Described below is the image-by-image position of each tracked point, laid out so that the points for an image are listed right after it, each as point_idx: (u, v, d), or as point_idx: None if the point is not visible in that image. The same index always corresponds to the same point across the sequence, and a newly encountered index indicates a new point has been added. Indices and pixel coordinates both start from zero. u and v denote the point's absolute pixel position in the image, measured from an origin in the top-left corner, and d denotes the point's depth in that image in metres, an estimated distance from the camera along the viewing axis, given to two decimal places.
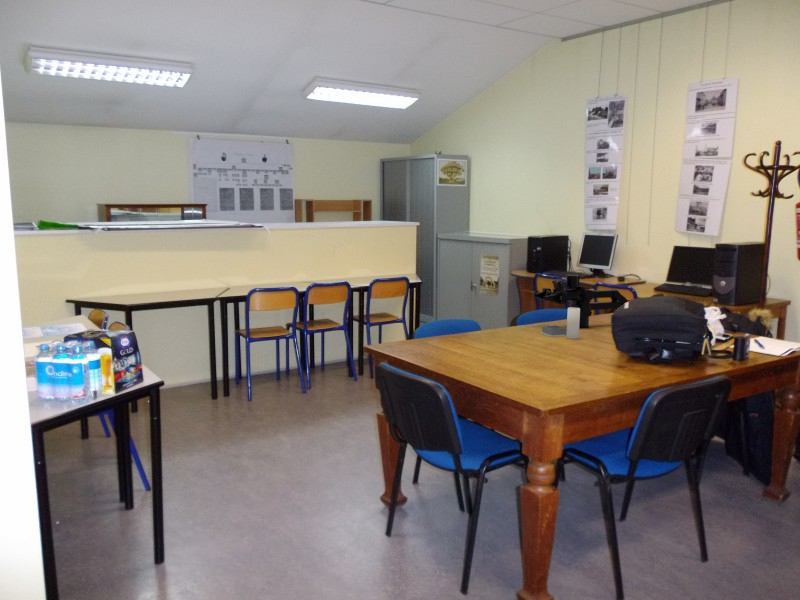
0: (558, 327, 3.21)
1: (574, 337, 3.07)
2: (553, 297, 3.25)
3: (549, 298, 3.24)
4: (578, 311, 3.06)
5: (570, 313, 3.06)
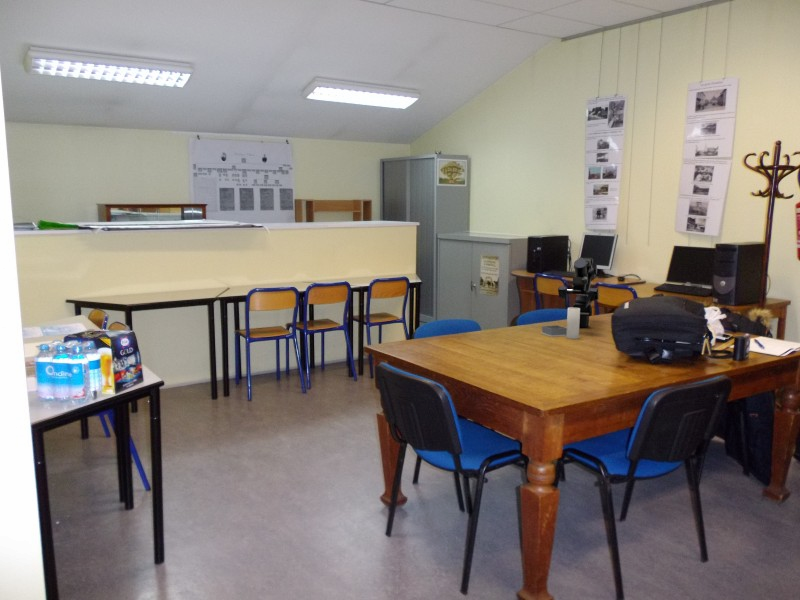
0: (558, 327, 3.21)
1: (574, 337, 3.07)
2: (589, 299, 3.15)
3: (588, 303, 3.15)
4: (578, 311, 3.06)
5: (570, 313, 3.06)
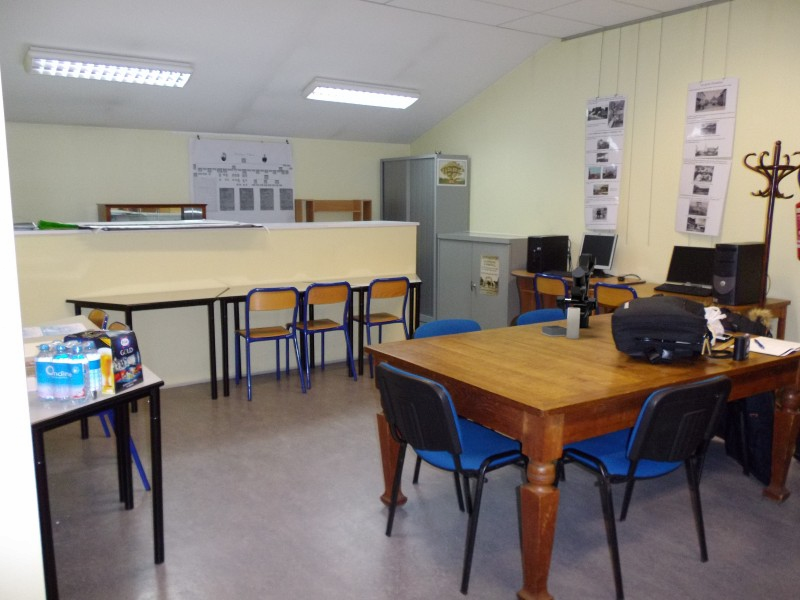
0: (558, 327, 3.21)
1: (574, 337, 3.07)
2: (588, 309, 3.10)
3: (586, 313, 3.10)
4: (578, 311, 3.06)
5: (570, 313, 3.06)
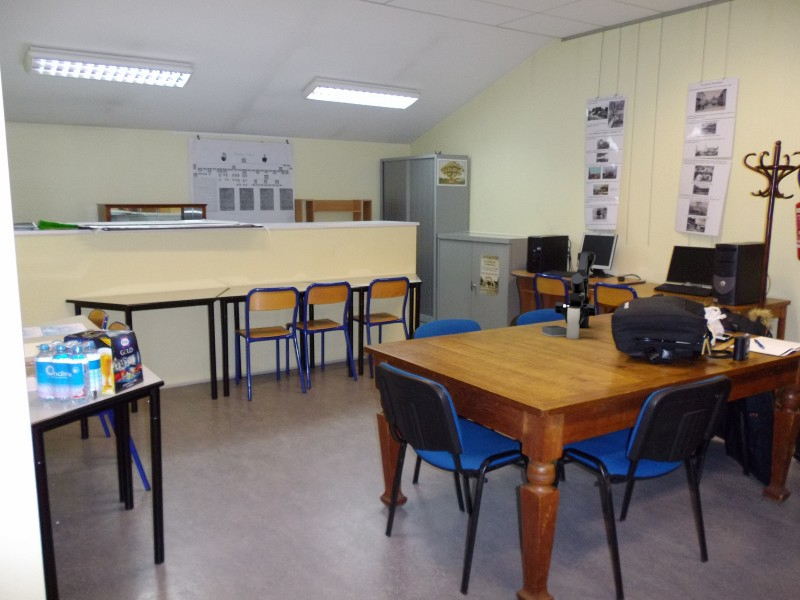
0: (558, 327, 3.21)
1: (574, 337, 3.07)
2: (583, 315, 3.08)
3: (582, 320, 3.07)
4: (578, 311, 3.06)
5: (570, 313, 3.06)
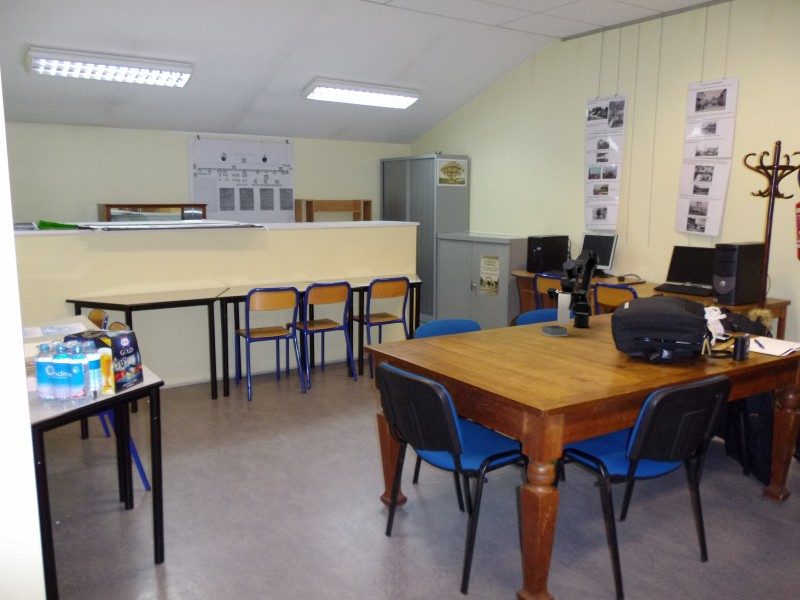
0: (558, 327, 3.21)
1: (564, 322, 3.10)
2: (574, 301, 3.10)
3: (572, 305, 3.10)
4: (568, 296, 3.08)
5: (560, 298, 3.09)
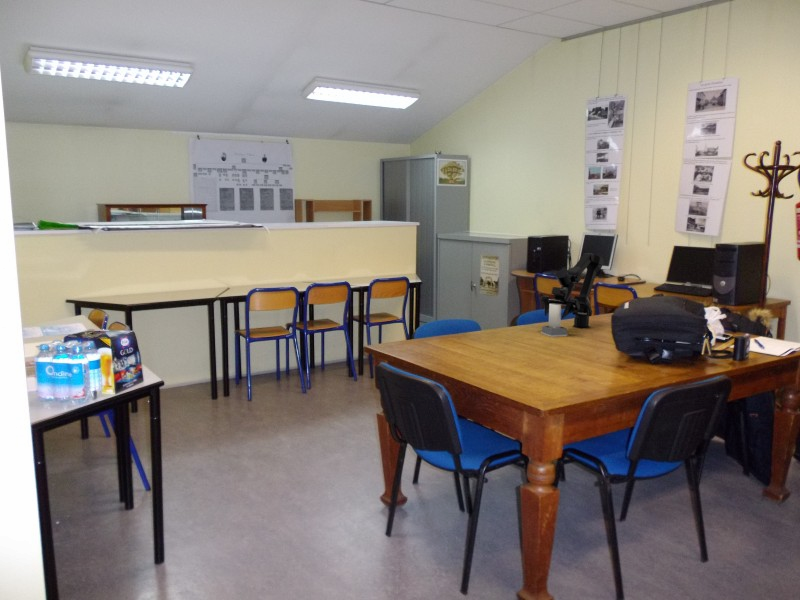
0: None
1: None
2: (567, 310, 3.13)
3: (566, 314, 3.13)
4: (558, 307, 3.13)
5: (550, 309, 3.14)
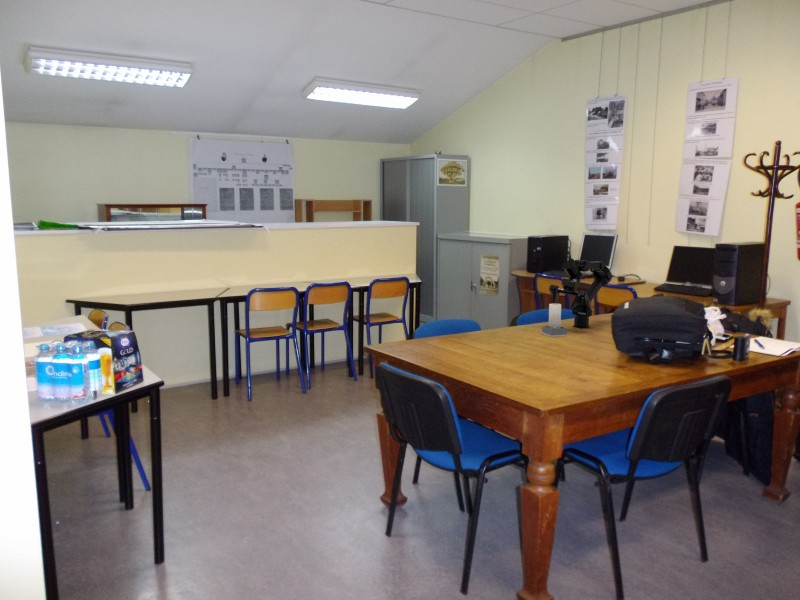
0: None
1: None
2: (576, 301, 3.21)
3: (574, 305, 3.21)
4: (558, 307, 3.13)
5: (550, 309, 3.14)
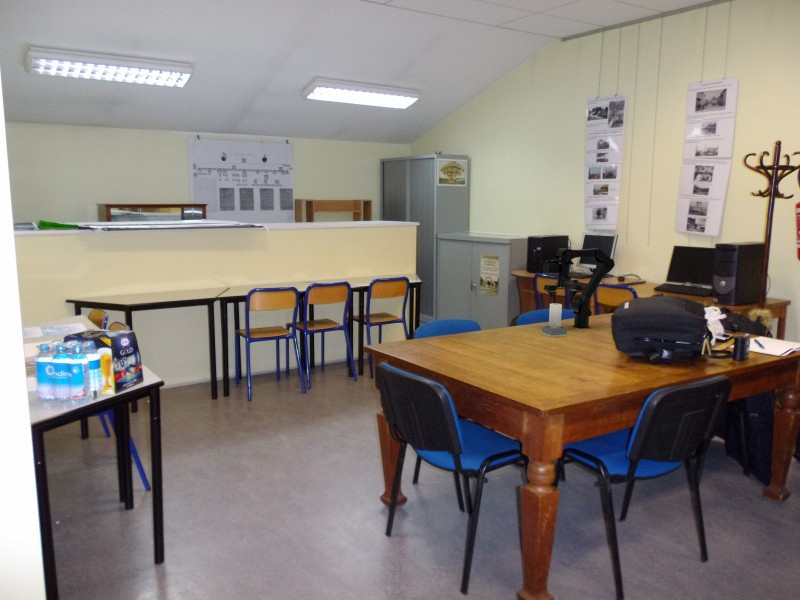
0: None
1: None
2: None
3: None
4: (558, 307, 3.13)
5: (551, 309, 3.14)
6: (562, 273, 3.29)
